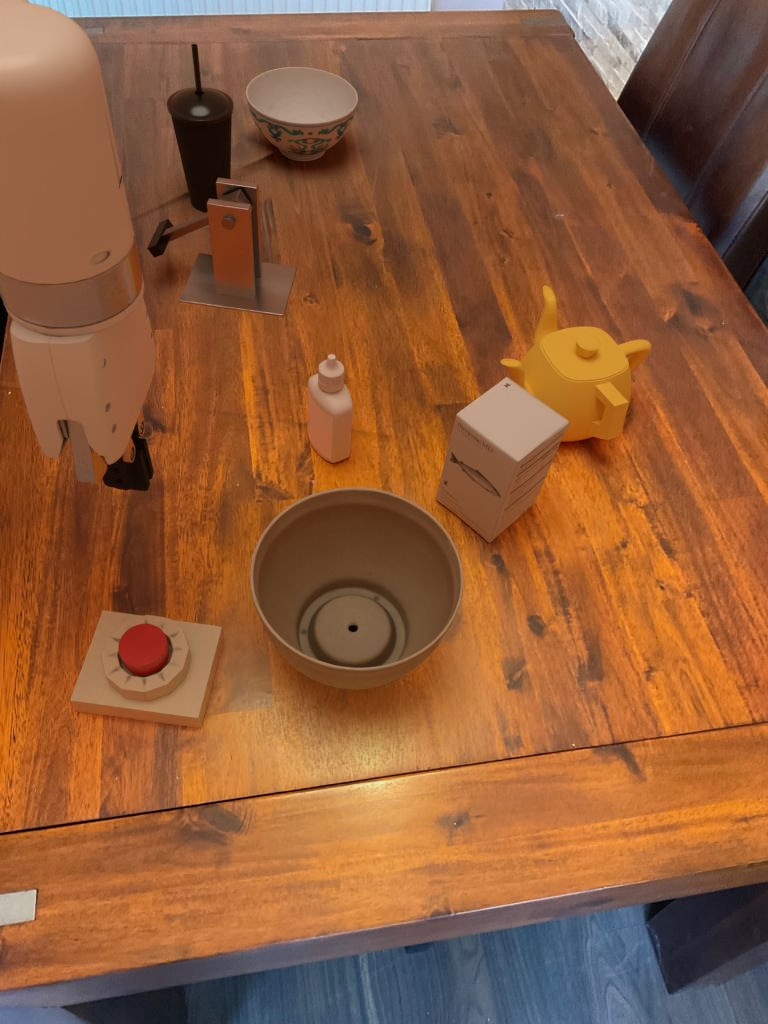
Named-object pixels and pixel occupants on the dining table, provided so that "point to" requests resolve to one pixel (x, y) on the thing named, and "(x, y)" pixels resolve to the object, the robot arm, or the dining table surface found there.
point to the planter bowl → (355, 585)
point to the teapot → (579, 374)
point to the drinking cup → (202, 136)
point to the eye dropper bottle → (329, 411)
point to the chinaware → (301, 109)
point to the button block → (158, 695)
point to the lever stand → (237, 259)
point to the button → (144, 649)
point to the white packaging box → (499, 457)
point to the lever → (186, 226)
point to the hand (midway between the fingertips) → (129, 480)
